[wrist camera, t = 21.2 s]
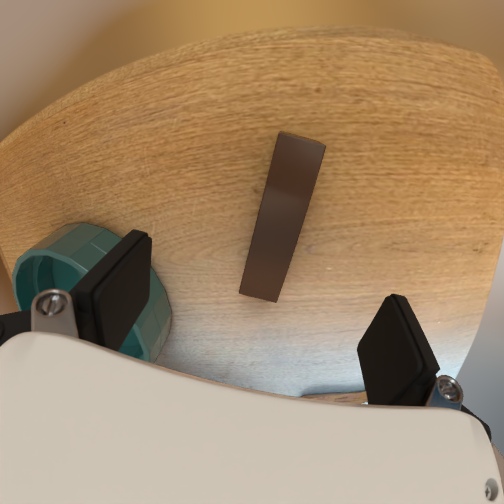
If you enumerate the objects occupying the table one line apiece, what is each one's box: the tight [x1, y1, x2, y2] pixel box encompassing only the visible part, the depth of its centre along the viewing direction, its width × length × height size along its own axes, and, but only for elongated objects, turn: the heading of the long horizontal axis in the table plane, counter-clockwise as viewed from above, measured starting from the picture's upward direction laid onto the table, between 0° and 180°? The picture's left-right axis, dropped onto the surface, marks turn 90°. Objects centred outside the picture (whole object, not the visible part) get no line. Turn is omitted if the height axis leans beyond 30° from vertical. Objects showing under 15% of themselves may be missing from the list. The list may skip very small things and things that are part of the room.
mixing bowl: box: [12, 223, 171, 364], centre depth 25 cm, size 17×17×6 cm
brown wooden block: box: [239, 131, 326, 303], centre depth 20 cm, size 12×3×4 cm, turn 167°
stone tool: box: [300, 391, 368, 404], centre depth 30 cm, size 5×2×15 cm
